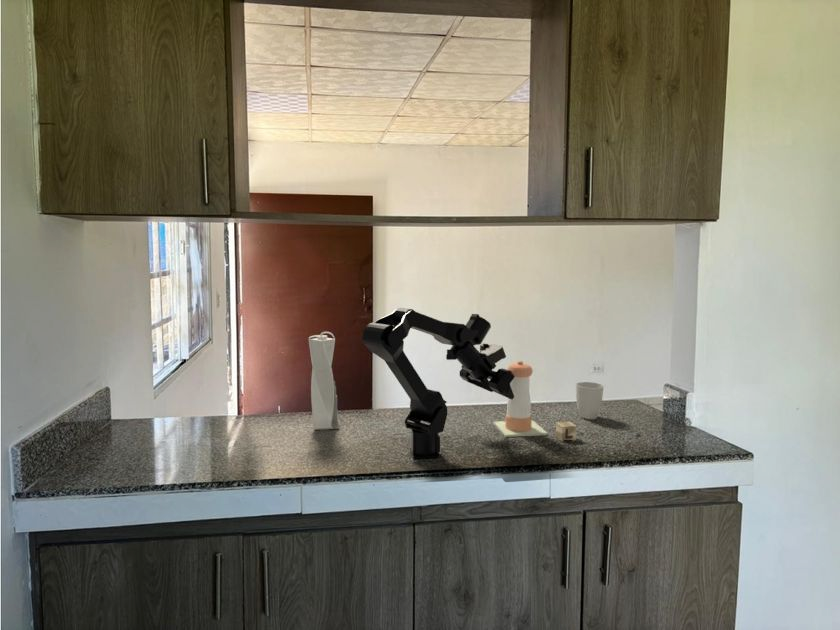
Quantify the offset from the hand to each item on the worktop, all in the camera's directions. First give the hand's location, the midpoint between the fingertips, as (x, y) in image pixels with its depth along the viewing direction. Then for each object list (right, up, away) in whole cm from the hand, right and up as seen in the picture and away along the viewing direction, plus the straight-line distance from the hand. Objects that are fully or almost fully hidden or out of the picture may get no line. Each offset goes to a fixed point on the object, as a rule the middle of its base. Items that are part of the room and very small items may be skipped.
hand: (502, 394), depth 155 cm
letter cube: (+17, -12, -3) cm, 21 cm away
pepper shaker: (+5, -10, +4) cm, 12 cm away
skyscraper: (-50, -10, +5) cm, 52 cm away
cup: (+29, -10, +17) cm, 35 cm away
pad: (+5, -11, +4) cm, 13 cm away
